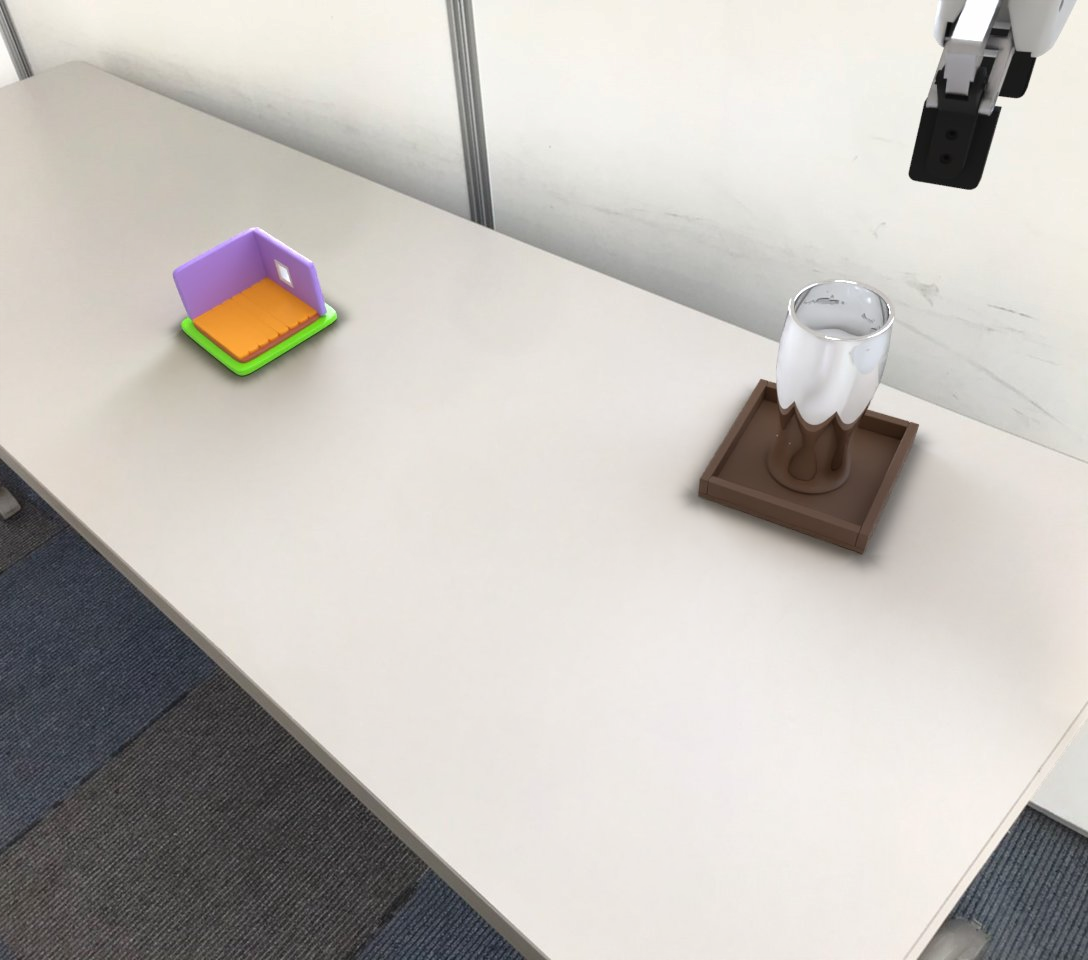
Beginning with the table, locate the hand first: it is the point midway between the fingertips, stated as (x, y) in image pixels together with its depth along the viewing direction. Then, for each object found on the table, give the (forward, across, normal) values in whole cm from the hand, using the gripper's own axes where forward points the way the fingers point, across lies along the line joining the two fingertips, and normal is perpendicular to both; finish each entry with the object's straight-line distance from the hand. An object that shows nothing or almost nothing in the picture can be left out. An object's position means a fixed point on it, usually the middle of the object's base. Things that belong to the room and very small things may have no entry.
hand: (968, 135), depth 50 cm
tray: (+30, +2, +5) cm, 30 cm away
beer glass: (+29, +2, +5) cm, 30 cm away
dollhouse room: (+29, -2, +58) cm, 65 cm away
